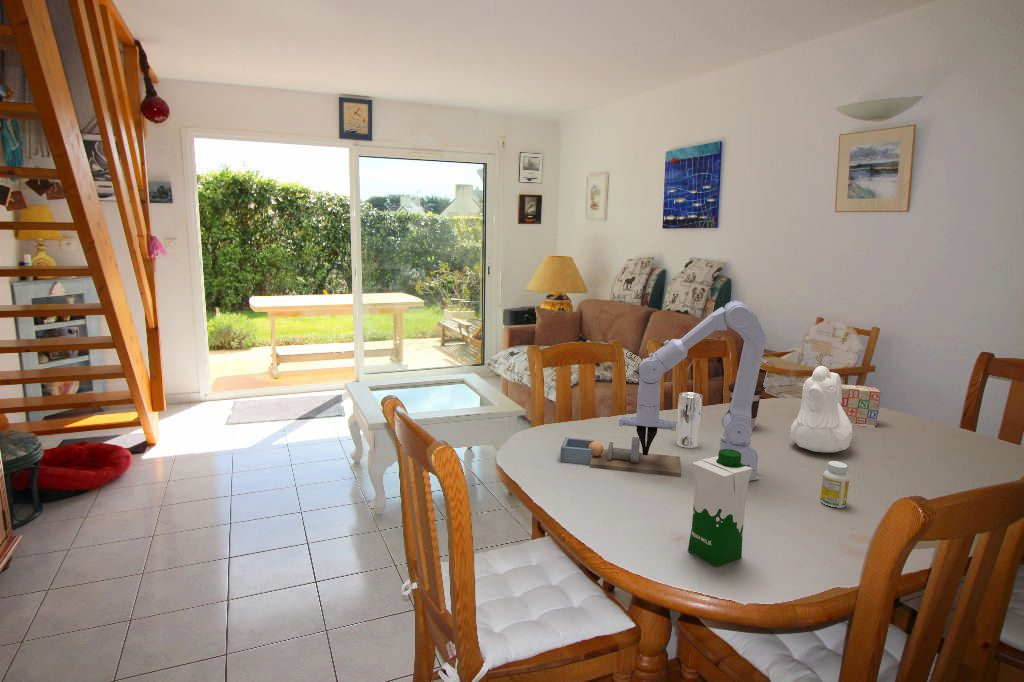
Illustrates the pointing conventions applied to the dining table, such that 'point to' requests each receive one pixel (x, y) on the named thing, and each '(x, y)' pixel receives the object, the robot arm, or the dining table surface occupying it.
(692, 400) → the silver soda can
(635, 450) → the grey h-shaped block
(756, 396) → the coffee cup
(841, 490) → the supplement bottle
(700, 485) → the milk carton
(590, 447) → the ball
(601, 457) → the launcher board
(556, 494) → the dining table surface
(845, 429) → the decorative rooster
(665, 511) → the dining table surface
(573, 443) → the cup
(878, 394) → the stack of blocks
